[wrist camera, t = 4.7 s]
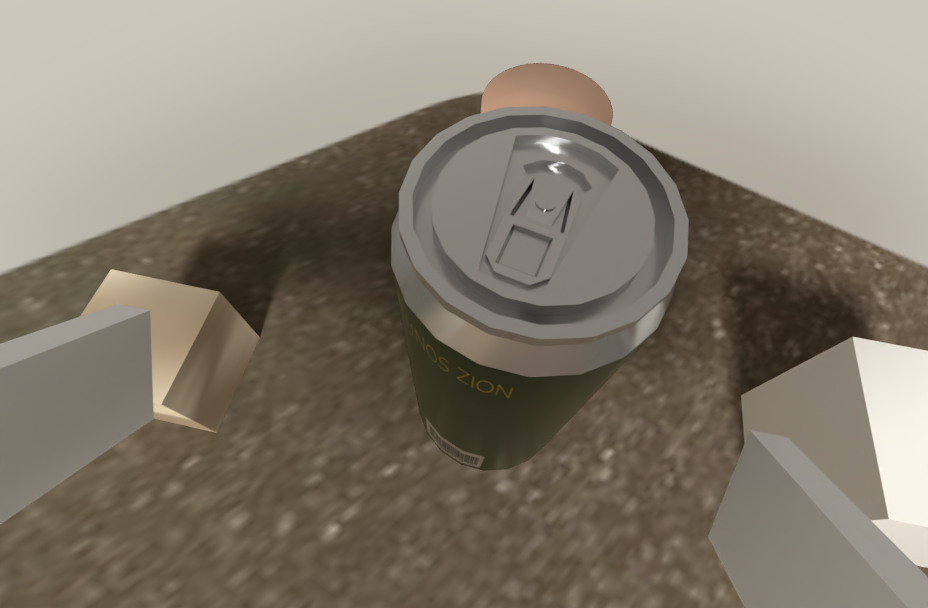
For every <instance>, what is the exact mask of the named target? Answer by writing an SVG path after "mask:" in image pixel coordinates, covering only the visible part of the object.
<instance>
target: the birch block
mask: <svg viewBox="0 0 928 608" xmlns="http://www.w3.org/2000/svg"><path fill="white" fill-rule="evenodd" d="M116 304H121V305H126V306H131V307H136V308H141V309H146V310H150V323H151V353H152V383H153V413H154V418H155V419H159V420H164V421H168V422H172V423H177V424H181V425H185V426H190V427H194V428H199V429H203V430H207V431H212V432H216V433H217V432H218V429H219V427H220V425H221V423H222V420H223V418H224V416H225V414H226V412H227V409H228V407H229V405H230V403H231V400H232V398H233V396H234V394H235V392H236V389H237V387H238V385H239V383H240V381H241V378H242V376H243V374H244V372H245V369H246V367H247V365H248V363H249V361H250V358H251V356H252V354H253V352H254V349H255V347H256V345H257V343H258V341H259V338H260V337H259V336H258V335H257V334H256V333H255V331H254V330H253V329H252V328H251V327H250V326H249V325H248V323H247V322H246V321H245V320H244V319H243V318H242V317H241V316H240V314H239V313H238V312H237V311H236V310H235V309H234V308H233V306H232V305H231V304H230V303H229V302H228V301H227V300H226V298H225V297H224V296H223V295H222V294H221V293H220V292H218V291H213V290H208V289H203V288H198V287H193V286H189V285H184V284H179V283H174V282H169V281H165V280H160V279H155V278H150V277H145V276H141V275H136V274H131V273H126V272H121V271H117V270H112V269H111V270H110V272H109V273H108V275H107V277H106V278H105V280H104V281H103V283H102V284H101V286H100V287H99V289H98V290H97V292H96V293H95V295H94V296H93V298H92V299H91V301H90V302H89V304H88V305H87V307H86V308H85V310H84V311H83V313H82V314H81V316H84V315H86V314H89V313H92V312H95V311H98V310H101V309H104V308H107V307H110V306H113V305H116ZM81 316H80V317H81Z"/></svg>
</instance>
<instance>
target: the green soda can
mask: <svg viewBox="0 0 928 608" xmlns="http://www.w3.org/2000/svg"><path fill="white" fill-rule="evenodd" d="M688 224H689V220H688V217H687V214H686V211H685V208H684V206H683V203H682V200H681V197H680V194H679V191H678V189H677V186H676V184H675V183H674V181H673V180H672V179H671V178H670V176H669V175H668V174H667V172H666V171H665V170H664V168H663V167H662V166H661V165H660V163H659V162H658V161H657V159H656V158H655V157H654V155H653V154H651V153H650V152H649V151H647V150H646V149H645V148H643V147H642V146H641V145H640V144H638V143H637V142H636V141H634V140H633V139H632V138H630V137H629V136H628V135H626V134H625V133H624V132H622V131H621V130H619V129H616V128H614V127H612V126H610V125H607V124H605V123H603V122H601V121H598V120H596V119H594V118H591V117H589V116H587V115H585V114H580V113H575V112H570V111H565V110H560V109H555V108H550V107H545V106H541V107H504V108H500V109H496V110H492V111H488V112H484V113H480V114H476V115H472V116H468V117H467V118H465V119H463V120H461V121H460V122H458V123H456V124H454V125H452V126H451V127H449V128H447V129H445V130H443V131H442V132H440V133H438V134H436V135H435V137H434V138H433V139H432V140H431V141H430V142H429V143H428V144H427V145H426V146H425V147H424V148H423V149H422V150H421V151H420V153H419V154H418V155H417V156H416V157H415V158H414V159H413V160H412V162H411V165H410V167H409V169H408V172H407V174H406V177H405V179H404V182H403V184H402V186H401V189H400V191H399V210H398V213H397V215H396V217H395V220H394V222H393V225H392V228H391V266H392V272H393V277H394V282H395V287H396V292H397V298H398V303H399V308H400V313H401V318H402V323H403V329H404V334H405V339H406V344H407V349H408V355H409V360H410V365H411V370H412V375H413V380H414V386H415V391H416V396H417V401H418V406H419V412H420V414H421V417H422V420H423V423H424V426H425V428H426V431H427V433H428V435H429V436H430V437H431V438H432V440H433V441H434V442H435V444H436V445H437V446H438V447H439V449H440V450H441V451H442V452H443V453H445V454H446V455H448V456H449V457H451V458H452V459H454V460H455V461H457V462H458V463H460V464H462V465H465V466H469V467H473V468H477V469H480V470H484V471H485V470H500V469H509V468H511V467H514V466H516V465H518V464H521V463H523V462H525V461H528V460H530V459H531V458H532V457H533V456H534V455H535V454H536V453H537V452H538V451H539V450H540V449H542V448H543V447H544V446H545V445H546V444H547V443H548V442H549V441H550V440H551V439H552V438H553V437H554V436H555V435H556V433H557V432H558V431H559V430H560V429H561V428H562V427H563V426H564V425H565V424H566V423H567V422H568V421H569V420H570V419H571V418H572V417H573V416H574V415H575V414H576V413H577V412H578V411H579V409H580V408H581V407H582V406H583V405H584V404H585V403H586V402H587V401H588V400H589V399H590V398H591V397H592V396H593V395H594V394H595V393H596V392H597V391H598V390H599V389H600V388H601V386H602V385H603V384H604V383H605V382H606V381H607V380H608V379H609V378H610V377H611V376H612V375H613V374H614V373H615V372H616V371H617V370H618V369H619V368H620V367H621V366H622V365H623V364H624V362H625V361H626V360H627V359H628V358H629V357H630V356H631V355H632V354H633V353H634V352H635V351H636V350H637V349H638V348H639V347H640V346H641V345H642V344H643V343H644V342H645V341H646V340H647V338H648V337H649V336H650V335H651V334H652V333H653V332H654V331H655V330H656V329H657V328H658V326H659V324H660V322H661V319H662V317H663V315H664V313H665V311H666V309H667V307H668V305H669V303H670V301H671V299H672V297H673V295H674V292H675V281H676V279H677V277H678V275H679V273H680V271H681V269H682V267H683V265H684V263H685V261H686V259H687V251H688Z"/></svg>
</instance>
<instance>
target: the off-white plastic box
mask: <svg viewBox="0 0 928 608" xmlns="http://www.w3.org/2000/svg"><path fill="white" fill-rule="evenodd" d="M741 403H742V417H743V431H744V444H745V441H746V439H747V436H748V434H749V431H750V430H752V431H757V432H762V433H767V434H772V435H777V436H782V437H787V438H789V439H790V440H791V441H792V442H793V443H794V444H795V445H796V446H797V447H798V448H799V449H800V450H801V451H802V452H803V453H804V454H805V455H806V456H807V457H808V458H809V459H810V460H811V461H812V462H813V463H814V464H815V465H816V466H817V467H818V468H819V469H820V470H821V471H822V472H823V473H824V474H825V475H826V476H827V477H828V478H829V479H830V480H831V481H832V482H833V483H834V484H835V485H836V486H837V487H838V488H839V489H840V490H841V491H842V492H843V493H844V494H845V495H846V496H847V497H848V498H849V499H850V500H851V501H852V502H853V503H854V504H855V505H856V506H857V507H858V508H859V509H860V510H861V511H862V512H863V513H864V514H865V515H866V516H867V517H868V518H869V519H870V520H871V521H872V522H873V523H874V524H875V525H876V526H877V527H878V528H879V529H880V530H881V531H882V532H883V533H884V534H885V535H886V536H887V537H888V538H889V539H890V540H891V541H892V542H893V543H894V544H895V545H896V546H897V547H898V548H899V549H900V550H901V551H902V552H903V553H904V554H905V555H906V556H907V557H908V558H909V559H910V560H911V561H912V562H913V563H914V564H915V565H917V566H922V567H928V351H925V350H920V349H915V348H909V347H904V346H899V345H894V344H888V343H883V342H878V341H873V340H868V339H862V338H857V337H851V338H849V339H847V340H845V341H843V342H841V343H839V344H838V345H836V346H834V347H832V348H830V349H828V350H826V351H824V352H822V353H820V354H819V355H817V356H815V357H813V358H811V359H809V360H807V361H805V362H803V363H801V364H800V365H798V366H796V367H794V368H792V369H790V370H788V371H786V372H784V373H782V374H781V375H779V376H777V377H775V378H773V379H771V380H769V381H767V382H765V383H763V384H762V385H760V386H758V387H756V388H754V389H752V390H750V391H748V392H746V393H744V394H743V395H741Z"/></svg>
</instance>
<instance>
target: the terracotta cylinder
mask: <svg viewBox="0 0 928 608" xmlns="http://www.w3.org/2000/svg"><path fill="white" fill-rule="evenodd" d="M541 106H545V107H550V108H555V109H560V110H565V111H570V112H575V113H580V114H585V115H587V116H589V117H591V118H594V119H596V120H598V121H601V122H603V123H605V124H607V125H610V126H611V123H612V118H613V117H612V116H613V112H612V106H611V102H610V100H609V98H608V96H607V95H606V93H605V92H604V90H602V88H601V87H600V86H599V85H598V84H597V83H596V82H594V81H593V80H592V79H590V78H589V77H587V76H586V75H584V74H582V73H580V72H578V71H575V70H573V69H570V68H567V67H563V66H559V65H554V64H544V63H536V64H535V63H534V64H526V65H520V66H516V67H513V68H510V69H508V70H505V71H504V72H502V73H500V74H499V75H497V76H496V77H495V78H493V80H491V81H490V83H489V84H488V85H487V87H486V89H485V90H484V92H483V96H482V104H481V113H484V112H488V111H492V110H496V109H500V108H504V107H541Z"/></svg>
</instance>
